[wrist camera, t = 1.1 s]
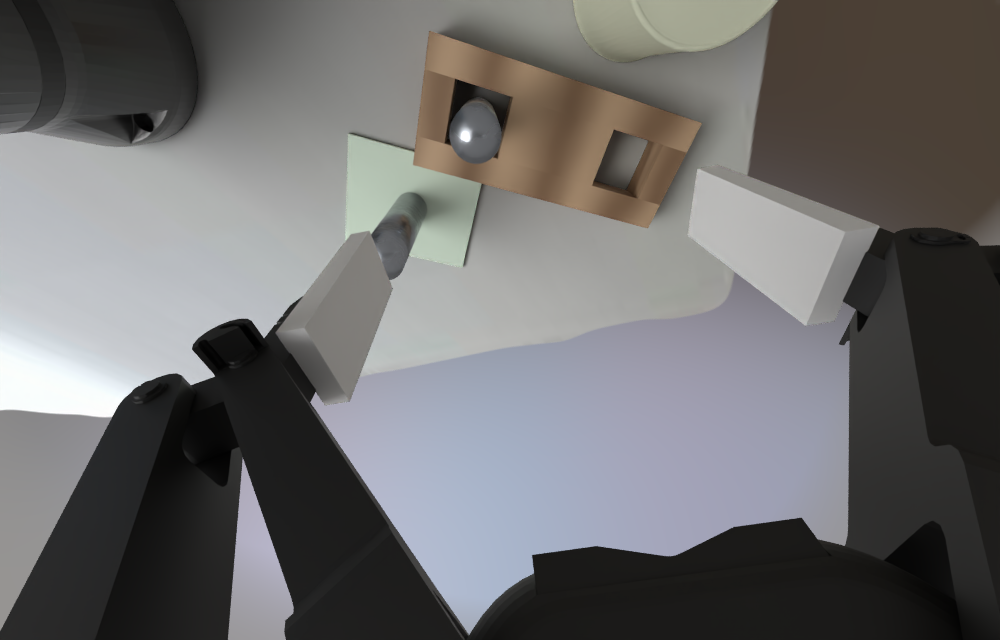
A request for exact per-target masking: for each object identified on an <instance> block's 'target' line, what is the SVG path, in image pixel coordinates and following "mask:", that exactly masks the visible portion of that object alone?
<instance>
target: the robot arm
mask: <svg viewBox="0 0 1000 640" xmlns="http://www.w3.org/2000/svg"><path fill="white" fill-rule="evenodd" d="M196 95H197V69H196V62H195V57H194V53H193V49H192V45H191V42H190V39H189V36H188V33H187V31H186V28H185V26H184V23H183V21H182V19H181V17H180V15H179V13H178V11H177V9H176V7H175V5H174V3H173V1H172V0H0V134H7V133H16V132H25V131H26V132H32V133H37V134H43V135H48V136H53V137H59V138H64V139H70V140H75V141H80V142H86V143H91V144H96V145H103V146H113V147H127V146H135V145H141V144H146V143H152V142H157V141H160V140H163V139H166V138H168V137H170V136H172V135H173V134H175V133H176V132H177V131H179V130H180V129H181V128H182V127H183V126H184V124H185V123H186V122H187V120H188V119H189V117H190V115H191V113H192V110H193V108H194V104H195V100H196ZM879 227H880V226H878V225H875V224H873V223H870V222H868V221H865V220H862V219H860V218H857V217H854V216H851V215H849V214H847V213H844V212H841V211H838V210H836V209H833V208H831V207H828V206H825V205H823V204H820V203H818V202H815V201H812V200H810V199H807V198H804V197H802V196H799V195H796V194H793V193H791V192H788V191H786V190H783V189H781V188H778V187H775V186H772V185H770V184H767V183H765V182H762V181H759V180H757V179H754V178H751V177H749V176H746V175H744V174H741V173H738V172H736V171H733V170H730V169H728V168H725V167H722V166H720V165H713V166H708V167H703V168H698V169H697V176H696V183H695V189H694V196H693V203H692V210H691V216H690V223H689V230H688V236H689V237H690V238H692V239H693V240H694V241H695V242H697V243H698V244H699V245H701V246H702V247H703V248H705V249H706V250H707V251H708V252H710V253H711V254H712V255H714V256H715V257H716V258H718V259H719V260H720V261H722V262H723V263H724V264H725V265H727V266H728V267H729V268H731V269H732V270H733V271H735V272H736V273H737V274H739V275H740V276H741V277H743V278H744V279H745V280H747V281H748V282H749V283H750V284H752V285H753V286H754V287H756V288H757V289H758V290H759V291H761V292H762V293H763V294H765V295H766V296H767V297H769V298H770V299H771V300H772V301H774V302H775V303H777V304H778V305H779V306H781V307H782V308H783V309H784V310H786V311H787V312H788V313H789V314H791V315H792V316H794V317H795V318H796V319H797V320H799V321H800V322H801V323H803V324H804V325H805V326H810V325H816V324H822V323H828V322H833V321H835V319H836V317H837V315H838V313H839V311H840V308H841V307H842V304H843V302H845V303H846V304H848V305H850V306H851V307H853V308H855V309H856V311H855V313H854V315H853V317H852V319H851V321H850V323H849V325H848V327H847V329H846V331H845V333H844V335H843V337H842V339H841V341H840V343H839V344H840V345H845V343H846V342H847V341H849V340H850V362H849V365H850V366H849V368H850V369H849V370H850V371H849V497H848V506H849V507H848V509H849V510H848V536H847V541H846V545H845V546H842V545H839V544H835V543H831V542H827V541H822V540H818V539H817V538H816V537H815V535H814V534H813V533H812V531H811V530H810V528H809V527H808V526H807V524H806V523H805V522H804V520H803V519H802V518H797V519H789V520H782V521H775V522H768V523H761V524H754V525H746V526H739V527H733V528H731V529H729V530H727V531H725V532H723V533H721V534H719V535H717V536H715V537H713V538H711V539H709V540H707V541H705V542H703V543H701V544H699V545H697V546H695V547H693V548H691V549H689V550H687V551H685V552H683V553H681V554H678V555H676V556H660V555H653V554H646V553H639V552H632V551H625V550H619V549H612V548H604V547H598V546H594V547H588V548H581V549H573V550H565V551H558V552H551V553H544V554H536V555H532V558H533V567H534V574H532V575H530V576H528V577H526V578H524V579H522V580H521V581H519V582H518V583H516V584H515V585H513V586H512V587H511V588H509V589H508V590H506V591H505V592H504V593H503V594H502V595H501V596H500V597H499V598H498V599H496V600H495V601H494V602H493V604H492V605H491V606H490V607H489V609H487V611H486V612H485V613H484V614H483V615H482V617H481V618H480V620H479V621H478V623H477V624H476V625H475V627H474V629H473V630H472V632H471V633H470V635H469V634H468V633H467V632H466V630H465V629H464V627H463V626H462V624H461V623H460V621H459V620H458V618H457V617H456V616H455V614H454V613H453V611H452V610H451V609H450V607H449V606H448V604H447V603H446V601H445V600H444V598H443V597H442V596H441V594H440V593H439V591H438V590H437V588H436V587H435V586H434V584H433V582H432V581H431V580H430V578H429V577H428V575H427V574H426V572H425V571H424V569H423V568H422V566H421V565H420V563H419V562H418V560H417V559H416V557H415V556H414V554H413V553H412V552H411V550H410V549H409V547H408V546H407V544H406V543H405V541H404V540H403V538H402V537H401V535H400V534H399V532H398V531H397V529H396V528H395V527H394V525H393V524H392V522H391V521H390V519H389V518H388V516H387V515H386V513H385V512H384V510H383V509H382V507H381V506H380V504H379V503H378V501H377V500H376V499H375V497H374V496H373V494H372V493H371V491H370V490H369V488H368V487H367V485H366V484H365V482H364V481H363V479H362V478H361V476H360V475H359V473H358V472H357V471H356V469H355V468H354V466H353V465H352V463H351V462H350V460H349V459H348V457H347V456H346V454H345V453H344V451H343V450H342V449H341V447H340V446H339V444H338V442H337V441H336V440H335V438H334V437H333V435H332V434H331V432H330V431H329V429H328V428H327V426H326V425H325V423H324V422H323V420H322V419H321V418H320V416H319V414H318V413H317V412H316V410H315V409H314V407H313V406H312V405H311V403H310V402H311V400H312V398H313V396H314V394H315V392H316V393H317V395H318V396H319V397H320V399H321V400H322V402H323V403H324V405H330V404H336V403H342V402H349V401H350V399H351V397H352V394H353V392H354V389H355V386H356V384H357V381H358V379H359V376H360V373H361V371H362V368H363V365H364V363H365V360H366V358H367V355H368V352H369V350H370V347H371V344H372V342H373V339H374V337H375V334H376V331H377V329H378V326H379V323H380V321H381V318H382V316H383V313H384V310H385V308H386V305H387V302H388V300H389V297H390V295H391V292H392V289H393V288H392V286H391V283H390V281H389V278H388V276H387V273H386V271H385V268H384V266H383V263H382V261H381V258H380V256H379V253H378V251H377V248H376V246H375V243H374V241H373V238H372V236H371V233H370V231H365V232H360V233H354V234H351V235H350V236H349V238H348V239H347V240H346V241H345V243H344V244H343V245H342V247H341V248H340V249H339V251H338V252H337V253H336V254H335V256H334V257H333V258H332V260H331V261H330V262H329V264H328V265H327V266H326V268H325V269H324V270H323V271H322V273H321V274H320V275H319V277H318V278H317V279H316V281H315V282H314V283H313V284H312V286H311V287H310V288H309V290H308V291H307V292H306V294H305V295H304V296H303V297H301V298H300V299H298V300H297V301H296V302H294V303H293V304H292V305H290V307H289V308H288V309H287V310H286V312H285V313H284V314H283V317H281V318H280V319H279V320H278V322H277V325H274V327H273V328H272V329H271V330H270V332H269V333H268V334H267V336H266V337H265V338H263V336H262V335H261V333H260V332H259V331H258V329H257V328H256V327H255V325H254V324H253V322H252V321H251V320H249V319H237V320H233V321H229V322H226V323H224V324H221V325H219V326H217V327H215V328H213V329H211V330H209V331H208V332H206V333H205V334H203V335H202V336H201V337H199V338H198V339H197V341H196V342H195V343H194V344H193V347H192V350H193V351H194V352H195V353H196V354H197V355H198V357H199V358H200V359H201V360H202V361H203V362H204V363H205V364H206V366H207V367H208V368H209V369H210V370H211V371H212V372H213V373H214V375H215V377H213V378H210V379H207V380H205V381H202V382H199V383H196V384H194V385H190V384H189V383H188V382H187V381H186V380H185V379H184V378H183V377H182V376H181V375H179V374H168V375H164V376H161V377H158V378H156V379H154V380H151V381H147V382H145V383H143V384H141V386H138V387H137V388H135V389H134V390H133V391H132V392H131V393H130V394H129V395H128V396H127V397H125V398H124V399H123V401H122V402H121V403H120V405H119V406H118V408H117V409H116V411H115V413H114V415H113V417H112V419H111V421H110V423H109V425H108V427H107V429H106V430H105V432H104V435H103V436H102V438H101V440H100V442H99V444H98V446H97V448H96V450H95V452H94V453H93V455H92V457H91V459H90V461H89V463H88V465H87V467H86V469H85V471H84V472H83V475H82V476H81V478H80V480H79V482H78V484H77V486H76V488H75V490H74V492H73V494H72V495H71V497H70V499H69V501H68V503H67V505H66V507H65V509H64V511H63V513H62V514H61V516H60V518H59V520H58V522H57V524H56V526H55V528H54V530H53V532H52V534H51V535H50V537H49V539H48V541H47V543H46V545H45V547H44V549H43V551H42V553H41V555H40V556H39V558H38V560H37V562H36V564H35V566H34V568H33V570H32V572H31V574H30V576H29V577H28V579H27V581H26V583H25V585H24V587H23V589H22V591H21V593H20V595H19V597H18V599H17V600H16V602H15V604H14V606H13V608H12V610H11V612H10V614H9V616H8V618H7V620H6V621H5V623H4V625H3V627H2V629H1V631H0V640H228V629H229V618H230V606H231V593H232V580H233V569H234V557H235V544H236V532H237V520H238V507H239V496H240V482H241V471H242V458H243V459H244V461H245V465H246V467H247V470H248V473H249V476H250V479H251V482H252V485H253V488H254V491H255V494H256V496H257V500H258V502H259V505H260V508H261V511H262V514H263V517H264V519H265V523H266V526H267V528H268V531H269V534H270V537H271V540H272V543H273V546H274V549H275V552H276V555H277V558H278V560H279V563H280V566H281V569H282V572H283V575H284V578H285V581H286V584H287V587H288V589H289V592H290V595H291V598H292V602H293V606H294V612H293V614H292V615H291V616H290V617H289V618H288V619H287V620H286V621H285V631H284V632H285V637H286V640H1000V245H995V246H979V244H978V242H977V241H975V240H974V239H973V238H972V237H970V236H968V235H966V234H962V233H958V232H954V231H950V230H947V229H942V228H910V229H903V230H900V231H897V232H896V233H892V232H890V231H887V230H884V229H882V228H879Z"/></svg>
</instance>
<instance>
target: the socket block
mask: <svg viewBox="0 0 1000 640" xmlns="http://www.w3.org/2000/svg"><path fill="white" fill-rule="evenodd" d="M457 79H458V80H461V81H464V82H467V83H470V84H473V85H476V86H479V87H483V88H486V89H489V90H492V91H495V92H498V93H501V94H504V95H508V96H510V101H509V105H508V109H507V113H506V117H505V121H504V125H503V130H502V134H501V135H502V137H501V144H500V147H499V149H498V151H497V153H496V154H495V155H494V156H493V157H492V158H491V159H490V160H488V161H487V162H484V163H481V164H472V163H468V162H466V161H464V160H463V159H461V158H460V157H459V156H458V155H457V154H456V153H455V151H454V150H453V148H452V145H451V142H450V139H448V133H449V127H450V121H451V115H452V109H453V103H454V97H455V91H456V85H457ZM701 124H702V123H700V122H697V121H694V120H691V119H688V118H685V117H682V116H679V115H676V114H673V113H670V112H667V111H664V110H661V109H659V108H656V107H653V106H650V105H647V104H644V103H641V102H638V101H635V100H632V99H629V98H626V97H623V96H620V95H617V94H614V93H611V92H608V91H605V90H603V89H600V88H597V87H594V86H591V85H588V84H585V83H582V82H579V81H576V80H573V79H570V78H567V77H564V76H561V75H558V74H555V73H552V72H549V71H547V70H544V69H541V68H538V67H535V66H532V65H529V64H526V63H523V62H520V61H517V60H514V59H511V58H508V57H505V56H502V55H499V54H496V53H493V52H491V51H488V50H485V49H482V48H479V47H476V46H473V45H470V44H467V43H464V42H461V41H458V40H455V39H452V38H449V37H446V36H443V35H440V34H438V33H435V32H432V31H429V37H428V45H427V54H426V62H425V70H424V78H423V86H422V94H421V103H420V111H419V119H418V127H417V135H416V144H415V152H414V160H413V165H415V166H418V167H422V168H426V169H430V170H433V171H437V172H441V173H444V174H448V175H452V176H456V177H459V178H463V179H467V180H470V181H474V182H478V183H481V184H485V185H489V186H493V187H496V188H500V189H504V190H507V191H511V192H515V193H519V194H522V195H526V196H530V197H533V198H537V199H541V200H545V201H548V202H552V203H556V204H559V205H563V206H567V207H570V208H574V209H578V210H582V211H585V212H589V213H593V214H596V215H600V216H604V217H608V218H611V219H615V220H619V221H622V222H626V223H630V224H633V225H637V226H641V227H645V228H648V227H649V225H650V223H651V221H652V219H653V217H654V216H655V214H656V212H657V210H658V208H659V206H660V204H661V202H662V200H663V198H664V196H665V194H666V192H667V190H668V188H669V186H670V184H671V182H672V180H673V179H674V177H675V175H676V173H677V171H678V169H679V167H680V165H681V163H682V161H683V159H684V157H685V155H686V153H687V151H688V149H689V147H690V145H691V143H692V141H693V140H694V138H695V136H696V134H697V132H698V130H699V128H700V126H701ZM614 130H617V131H620V132H623V133H627V134H630V135H633V136H636V137H639V138H642V139H645V140H648V144H647V146H646V148H645V150H644V153H643V155H642V157H641V159H640V161H639V164H638V166H637V168H636V170H635V173H634V175H633V177H632V179H631V181H630V184H629V186H628V188H627V190H624V189H621V188H617V187H614V186H610V185H607V184H603V183H600V182H596V181H594V179H595V176H596V174H597V171H598V168H599V166H600V163H601V161H602V158H603V156H604V153H605V151H606V148H607V146H608V143H609V141H610V138H611V136H612V133H613V131H614Z"/></svg>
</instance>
